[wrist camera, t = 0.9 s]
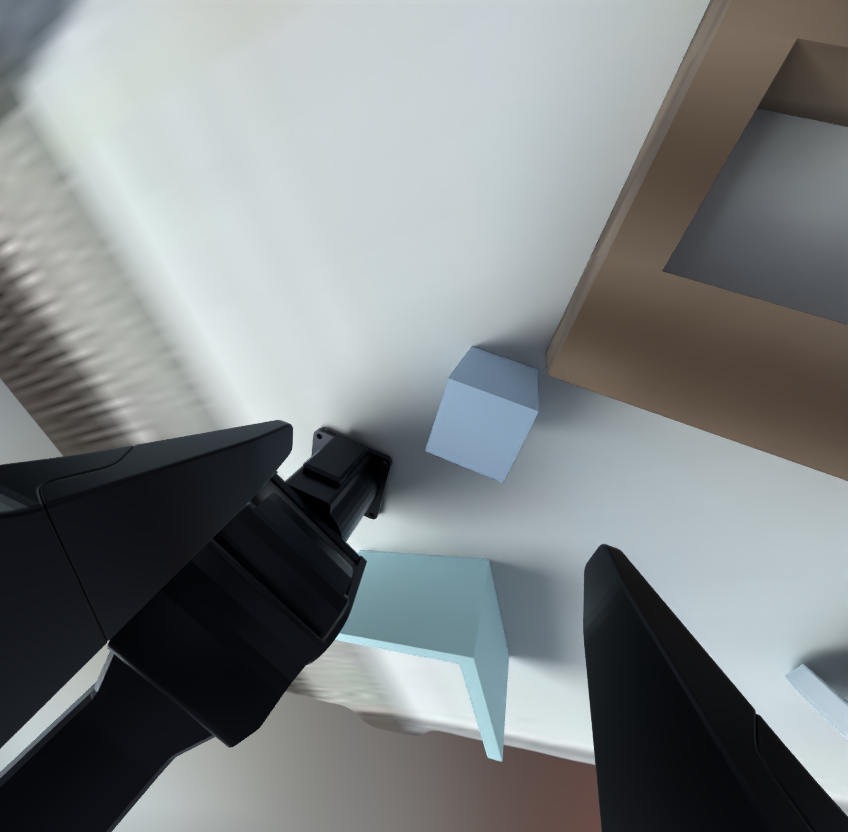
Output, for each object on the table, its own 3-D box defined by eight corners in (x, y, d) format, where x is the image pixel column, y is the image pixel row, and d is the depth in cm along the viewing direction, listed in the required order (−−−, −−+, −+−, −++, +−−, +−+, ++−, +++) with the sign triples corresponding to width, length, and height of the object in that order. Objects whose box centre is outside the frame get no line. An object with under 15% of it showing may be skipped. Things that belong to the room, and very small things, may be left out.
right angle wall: (360, 549, 30) (313, 628, 24) (488, 558, 26) (473, 658, 19) (394, 634, 34) (361, 720, 28) (509, 654, 30) (502, 761, 24)
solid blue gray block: (510, 426, 20) (503, 482, 15) (451, 404, 21) (424, 451, 16) (537, 369, 18) (539, 411, 13) (471, 346, 19) (448, 378, 14)
